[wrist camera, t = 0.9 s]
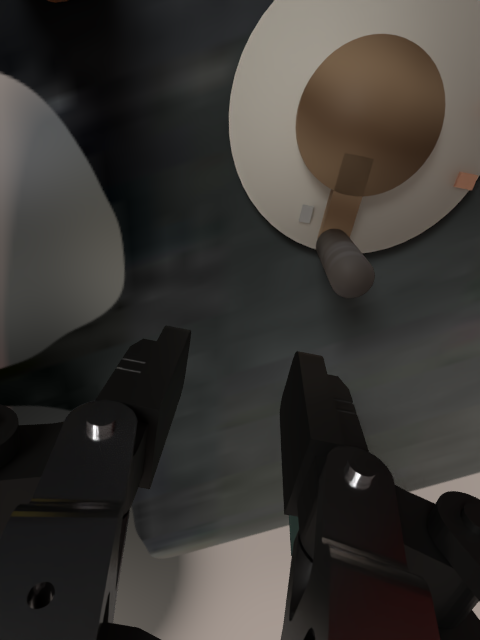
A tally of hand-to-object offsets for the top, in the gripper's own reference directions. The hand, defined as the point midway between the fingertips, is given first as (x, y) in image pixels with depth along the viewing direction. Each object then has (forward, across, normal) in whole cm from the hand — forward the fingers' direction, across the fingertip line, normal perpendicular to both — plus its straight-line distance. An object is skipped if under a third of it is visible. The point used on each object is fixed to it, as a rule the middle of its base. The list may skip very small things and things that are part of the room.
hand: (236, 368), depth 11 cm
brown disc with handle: (+20, -6, -6) cm, 21 cm away
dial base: (+21, -6, -8) cm, 23 cm away
